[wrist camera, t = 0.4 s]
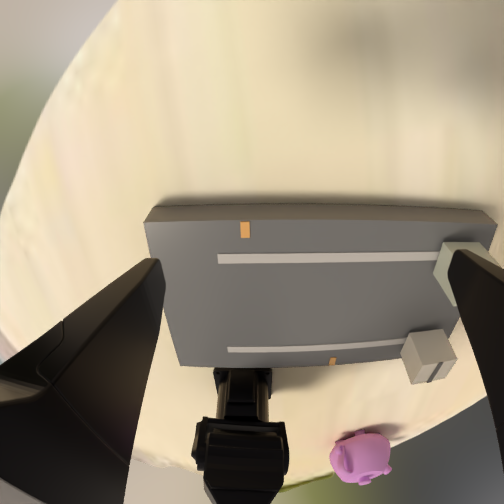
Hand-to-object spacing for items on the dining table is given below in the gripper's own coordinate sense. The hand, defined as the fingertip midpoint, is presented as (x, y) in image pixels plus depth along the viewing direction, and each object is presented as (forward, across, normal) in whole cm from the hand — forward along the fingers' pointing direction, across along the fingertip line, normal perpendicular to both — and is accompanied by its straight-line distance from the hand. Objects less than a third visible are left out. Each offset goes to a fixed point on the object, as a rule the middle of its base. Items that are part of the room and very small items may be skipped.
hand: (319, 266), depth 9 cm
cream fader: (+11, -14, +18) cm, 25 cm away
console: (+14, -4, +12) cm, 19 cm away
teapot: (+14, -16, +49) cm, 54 cm away
